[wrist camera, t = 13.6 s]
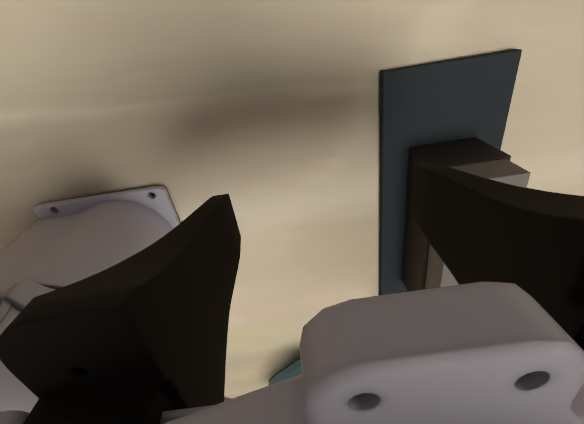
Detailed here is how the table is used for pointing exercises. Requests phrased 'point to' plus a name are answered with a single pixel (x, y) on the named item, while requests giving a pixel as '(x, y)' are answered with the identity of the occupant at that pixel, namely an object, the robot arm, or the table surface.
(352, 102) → the table surface
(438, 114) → the desk mat
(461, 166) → the grey rectangular block
